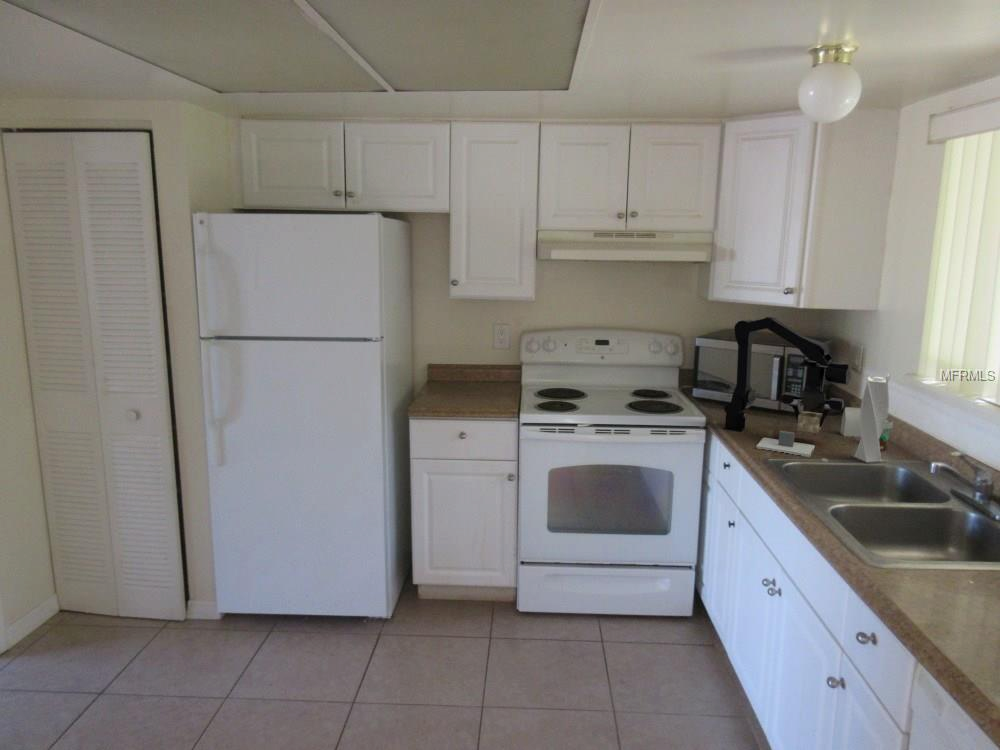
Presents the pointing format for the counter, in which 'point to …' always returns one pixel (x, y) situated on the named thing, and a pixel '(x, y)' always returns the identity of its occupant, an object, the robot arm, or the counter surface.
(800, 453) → the post stand
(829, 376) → the robot arm
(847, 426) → the tea bag
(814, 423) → the beige open box
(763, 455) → the counter surface
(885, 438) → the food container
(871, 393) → the skyscraper
